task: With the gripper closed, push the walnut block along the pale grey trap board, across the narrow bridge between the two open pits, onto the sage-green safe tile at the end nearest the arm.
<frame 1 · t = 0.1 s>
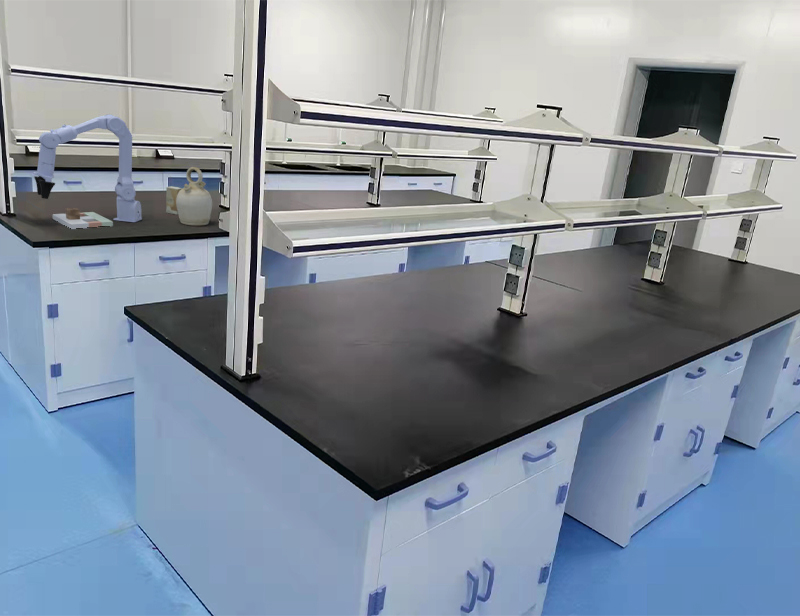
hand: (42, 196, 254), 11 cm above the countertop, tool pointing down, fingers open, 7 cm apart
trap board: (84, 222, 264), on the countertop
walnut block: (73, 218, 260), point 2 cm above the countertop, touching trap board
skincare box: (174, 213, 299), on the countertop
jug: (194, 223, 284), on the countertop
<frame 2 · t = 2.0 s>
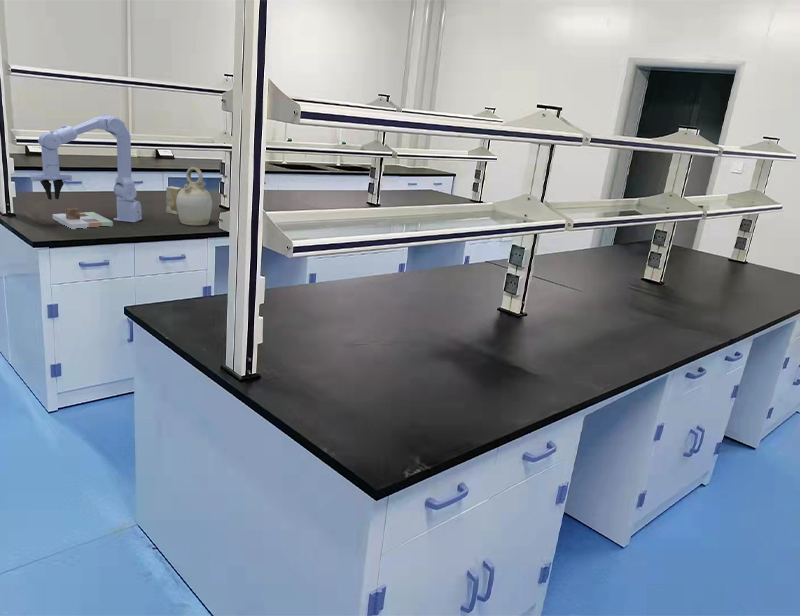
hand: (53, 199, 252), 10 cm above the countertop, tool pointing down, fingers closed
nothing on the countertop moved.
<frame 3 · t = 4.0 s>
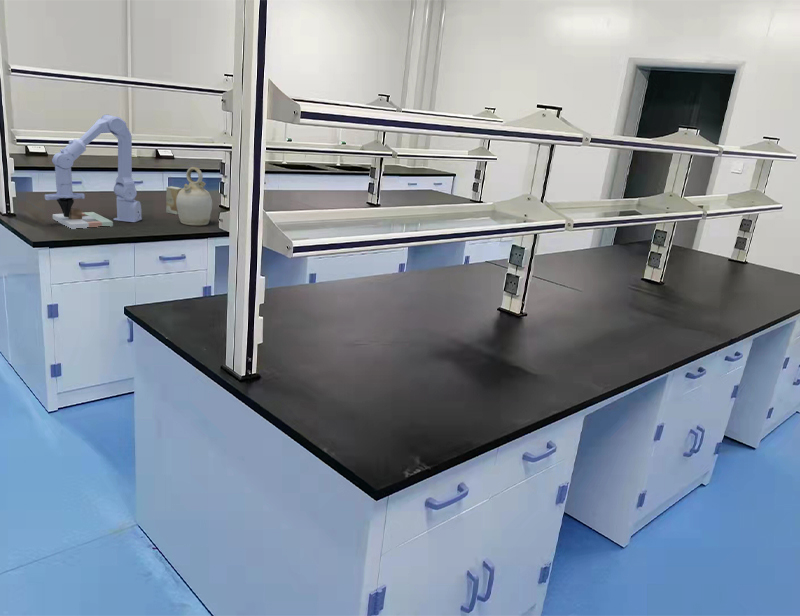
hand: (66, 216, 258), 3 cm above the countertop, tool pointing down, fingers closed
walnut block: (75, 218, 260), point 2 cm above the countertop, touching gripper, trap board
everything else where it was.
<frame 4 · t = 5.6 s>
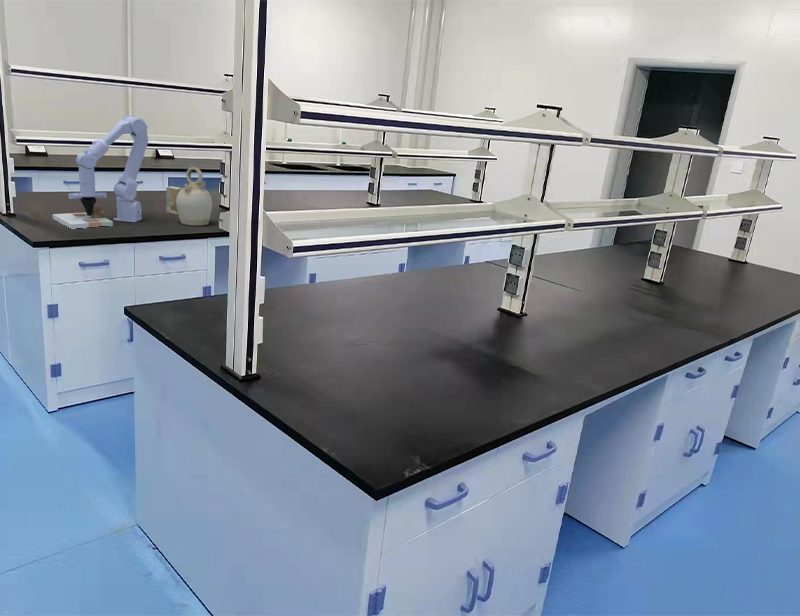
hand: (88, 215, 264), 3 cm above the countertop, tool pointing down, fingers closed
walnut block: (97, 216, 267), point 2 cm above the countertop, touching gripper, trap board
everything else where it was.
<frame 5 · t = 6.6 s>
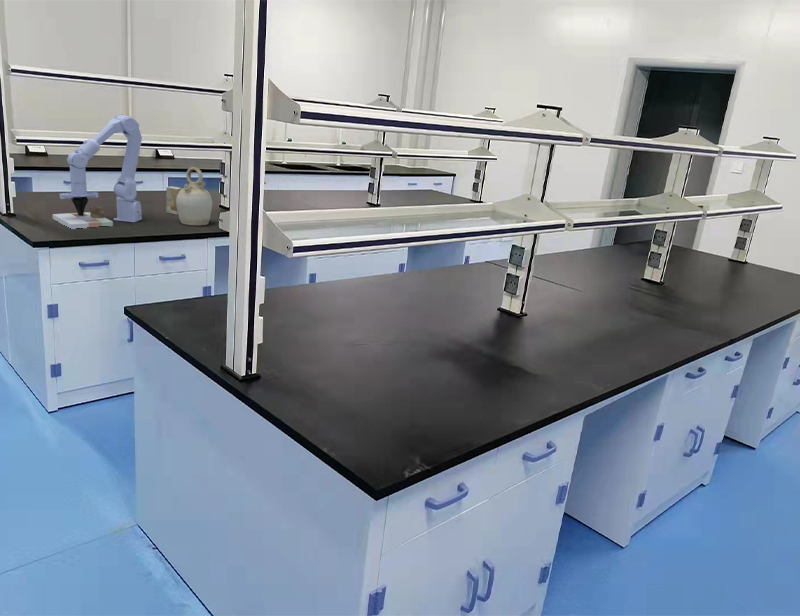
hand: (80, 215, 262), 3 cm above the countertop, tool pointing down, fingers closed
walnut block: (97, 217, 267), point 2 cm above the countertop, touching trap board
everything else where it was.
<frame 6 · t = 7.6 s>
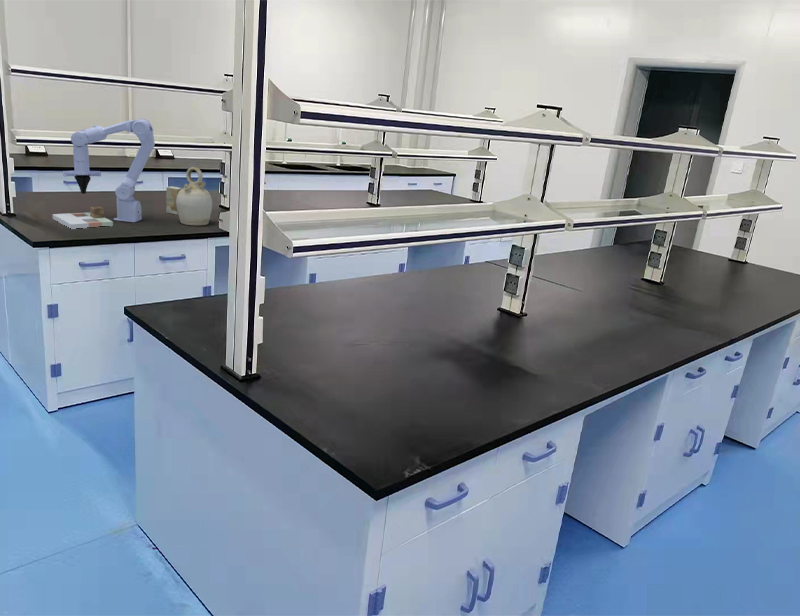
hand: (83, 193, 269), 10 cm above the countertop, tool pointing down, fingers closed
nothing on the countertop moved.
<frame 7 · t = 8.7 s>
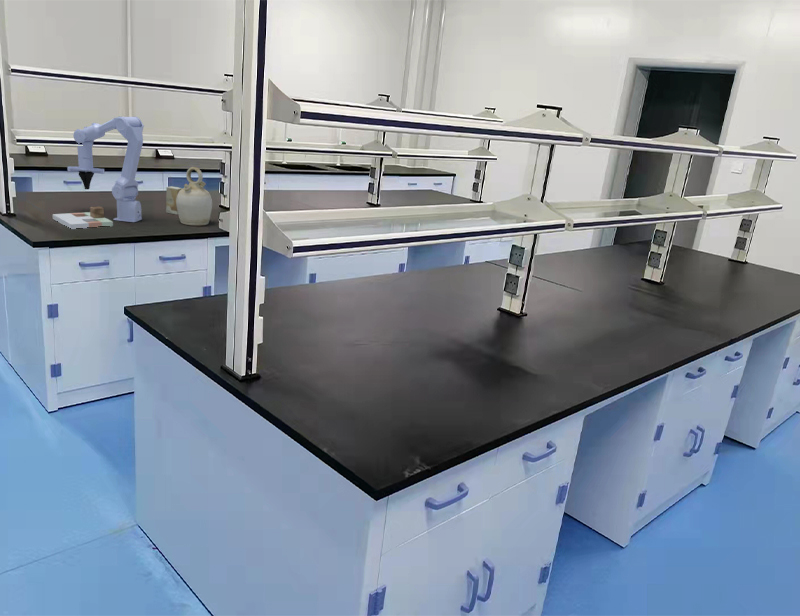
hand: (87, 188, 279), 10 cm above the countertop, tool pointing down, fingers closed
nothing on the countertop moved.
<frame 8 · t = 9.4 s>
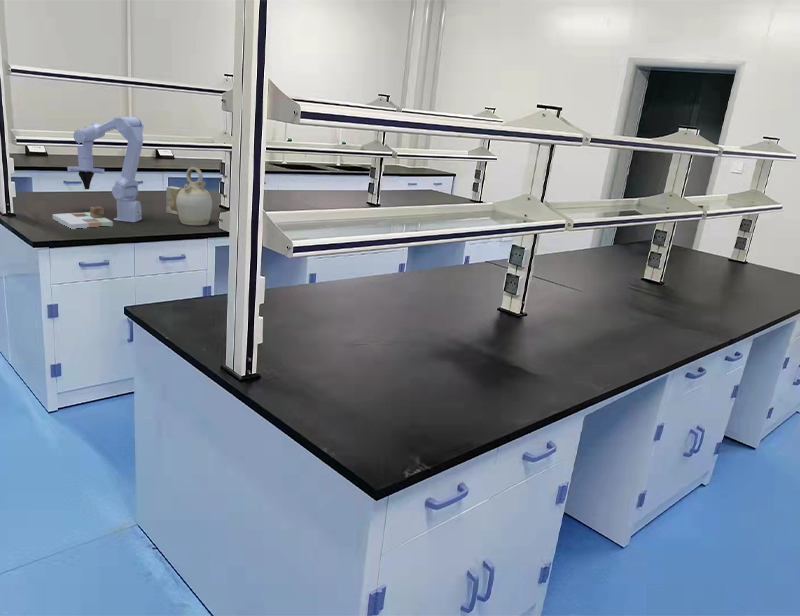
hand: (87, 188, 279), 10 cm above the countertop, tool pointing down, fingers closed
nothing on the countertop moved.
at the end: walnut block 1.0 cm from the target spot on the trap board, point 2.0 cm above the trap board's base; walnut block touching trap board; walnut block tilted 0° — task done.
